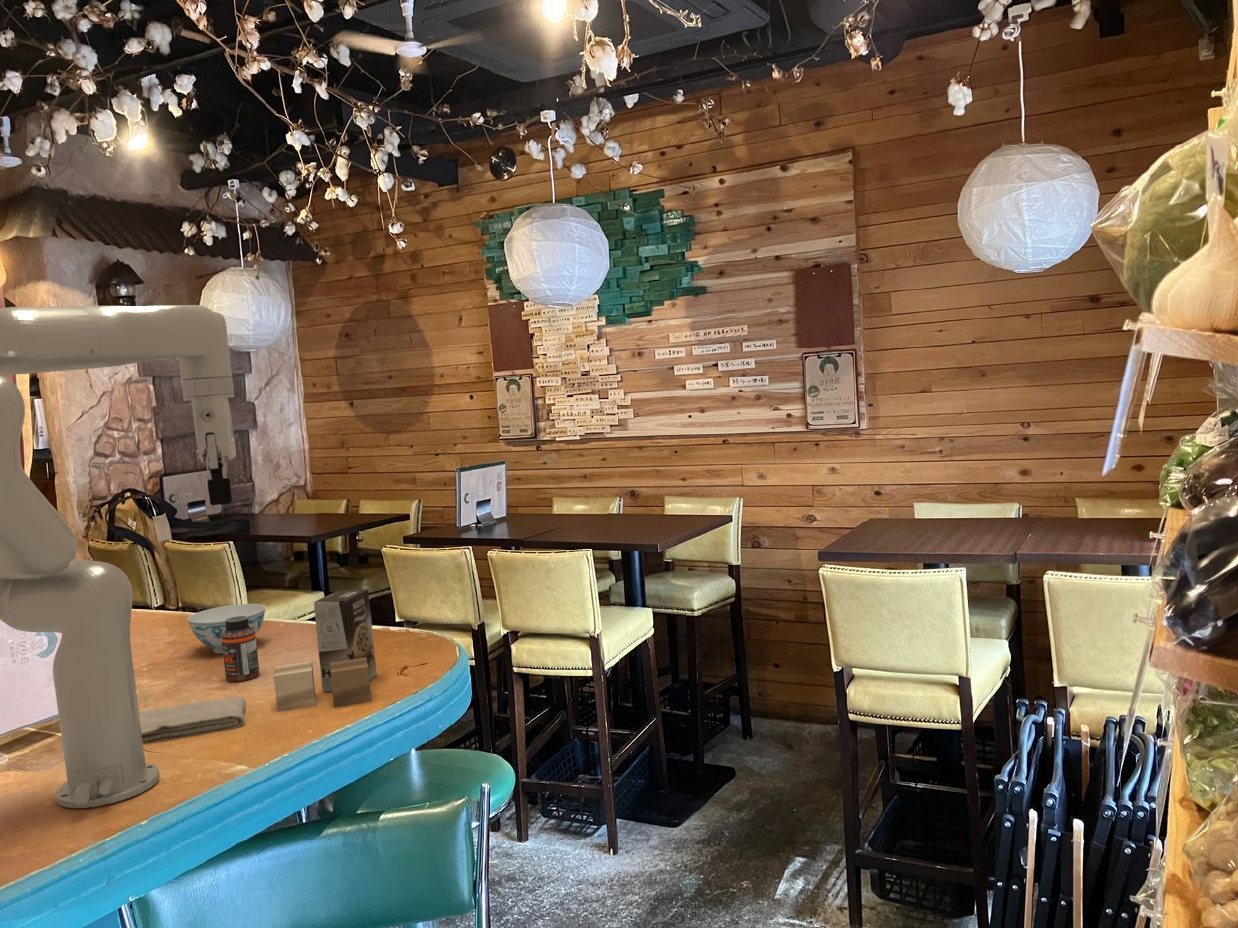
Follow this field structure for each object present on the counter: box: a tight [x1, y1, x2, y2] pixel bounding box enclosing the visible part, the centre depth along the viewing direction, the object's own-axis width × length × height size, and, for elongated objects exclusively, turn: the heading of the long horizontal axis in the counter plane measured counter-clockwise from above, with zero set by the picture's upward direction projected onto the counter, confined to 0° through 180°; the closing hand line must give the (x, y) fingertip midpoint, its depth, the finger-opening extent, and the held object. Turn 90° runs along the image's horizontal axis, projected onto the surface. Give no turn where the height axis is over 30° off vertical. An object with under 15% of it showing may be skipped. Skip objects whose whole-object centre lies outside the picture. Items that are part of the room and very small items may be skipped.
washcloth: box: [139, 696, 246, 744], centre depth 158 cm, size 12×18×3 cm, turn 109°
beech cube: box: [273, 660, 317, 712], centre depth 166 cm, size 6×6×6 cm
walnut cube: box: [330, 658, 372, 708], centre depth 165 cm, size 6×6×6 cm
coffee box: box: [313, 588, 378, 692], centre depth 173 cm, size 9×6×16 cm
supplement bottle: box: [221, 616, 260, 683], centre depth 183 cm, size 6×6×11 cm
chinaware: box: [187, 603, 266, 654], centre depth 204 cm, size 15×15×8 cm
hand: (221, 503), depth 158 cm, fingers closed
